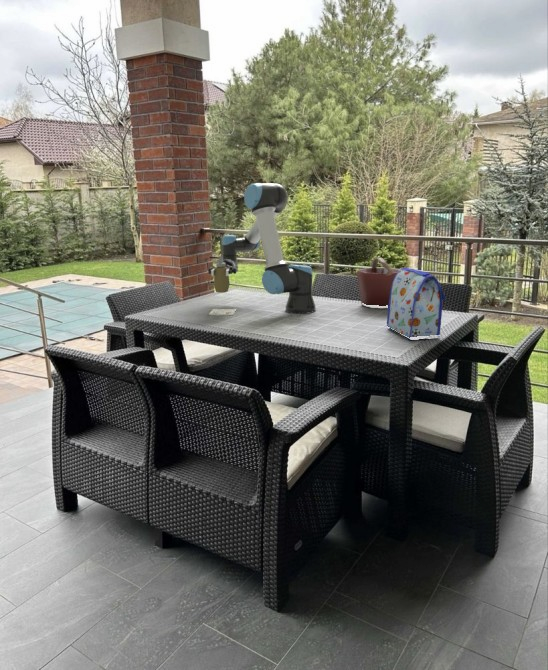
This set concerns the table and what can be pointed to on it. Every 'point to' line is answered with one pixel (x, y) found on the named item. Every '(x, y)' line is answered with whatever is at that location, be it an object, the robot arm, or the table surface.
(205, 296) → the table surface
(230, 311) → the card
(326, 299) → the table surface
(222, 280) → the squeeze bottle
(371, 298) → the bucket
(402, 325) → the lunch bag
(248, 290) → the table surface
